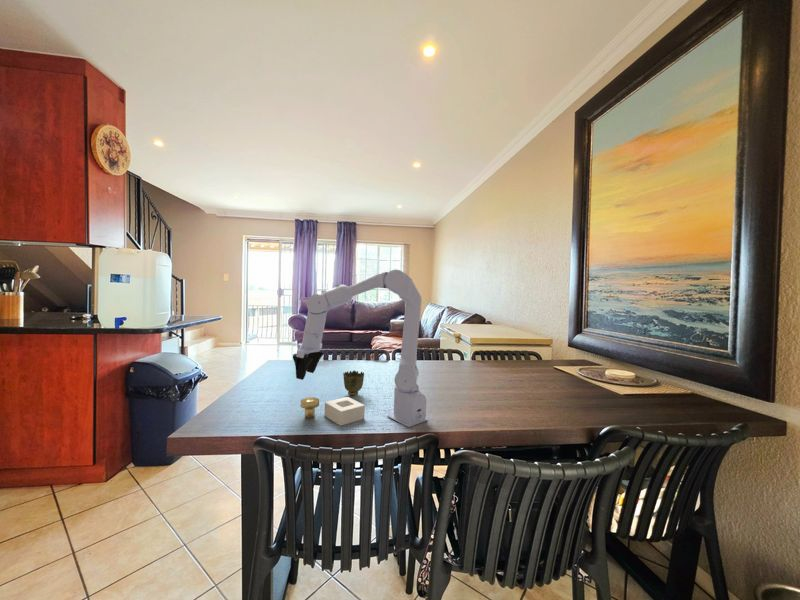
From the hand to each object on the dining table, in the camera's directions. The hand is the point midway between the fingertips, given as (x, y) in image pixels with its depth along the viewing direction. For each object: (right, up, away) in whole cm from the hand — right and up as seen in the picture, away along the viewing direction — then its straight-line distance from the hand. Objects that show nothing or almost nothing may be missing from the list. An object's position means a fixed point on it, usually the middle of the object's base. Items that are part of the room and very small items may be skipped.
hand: (305, 375), depth 97 cm
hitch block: (+13, -11, -5) cm, 18 cm away
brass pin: (+3, -11, -6) cm, 13 cm away
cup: (+13, -11, +15) cm, 22 cm away
